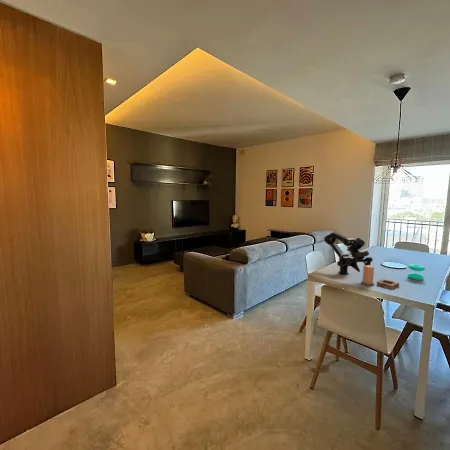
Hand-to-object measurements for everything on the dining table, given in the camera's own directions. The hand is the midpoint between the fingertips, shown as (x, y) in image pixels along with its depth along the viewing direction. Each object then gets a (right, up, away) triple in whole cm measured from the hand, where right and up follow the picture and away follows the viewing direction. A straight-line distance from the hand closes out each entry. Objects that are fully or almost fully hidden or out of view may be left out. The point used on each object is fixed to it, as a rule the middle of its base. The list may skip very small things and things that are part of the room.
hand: (364, 271), depth 186 cm
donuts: (+45, -8, +11) cm, 47 cm away
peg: (+1, -8, -2) cm, 8 cm away
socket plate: (+13, -9, -5) cm, 17 cm away
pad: (+1, -9, -2) cm, 9 cm away
